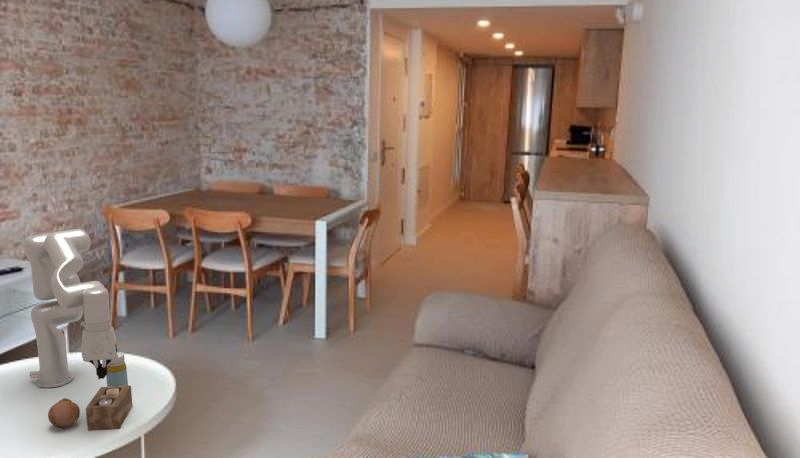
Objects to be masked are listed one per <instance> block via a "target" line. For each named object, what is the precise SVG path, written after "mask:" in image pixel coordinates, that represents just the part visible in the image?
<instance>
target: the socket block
mask: <svg viewBox="0 0 800 458" xmlns="http://www.w3.org/2000/svg"><path fill="white" fill-rule="evenodd" d="M111 388H118V389H119V394H113V395H106V391H107V390H108V389H111ZM132 394H133V393H132V385H129V384H128V386H110V387H107V386H100V388H99V389H98V391H96V393H95V394H94V396H93V397H92V399H91V400H90V401H89V403H88V404H87V406H86V407H85V417H86V426H87V431H88V432H89V431H91V432H92V431H104V430H106V431H107V430H120V429H121V427H122V425H123V424H124V423H125V420H126V419H127V416H128V415H129V414H130V411H132V409H133V407H134V406H133V397H132ZM106 398H110V399H112V405H102V406H99V401H100V400H102V399H106Z"/></svg>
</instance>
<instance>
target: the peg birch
mask: <svg viewBox="0 0 800 458" xmlns="http://www.w3.org/2000/svg"><path fill="white" fill-rule="evenodd" d="M113 394H119V389H118V388H111V389H108V390H107V391H106V395H113Z"/></svg>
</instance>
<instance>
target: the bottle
mask: <svg viewBox="0 0 800 458" xmlns="http://www.w3.org/2000/svg"><path fill="white" fill-rule="evenodd" d="M117 355H118V359H117V360H116V361H112V362H110V363H109V364H108V365H107V375H106V376H105V377H106V387H110V386H129V382H128V370H127V369H128V368H127V364H126V361H125V353H124V352H120V351H118V352H117Z"/></svg>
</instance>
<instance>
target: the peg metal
mask: <svg viewBox="0 0 800 458" xmlns="http://www.w3.org/2000/svg"><path fill="white" fill-rule="evenodd" d="M102 405H112V399H110V398H106V399H102V400H100V401H99V406H102Z"/></svg>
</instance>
